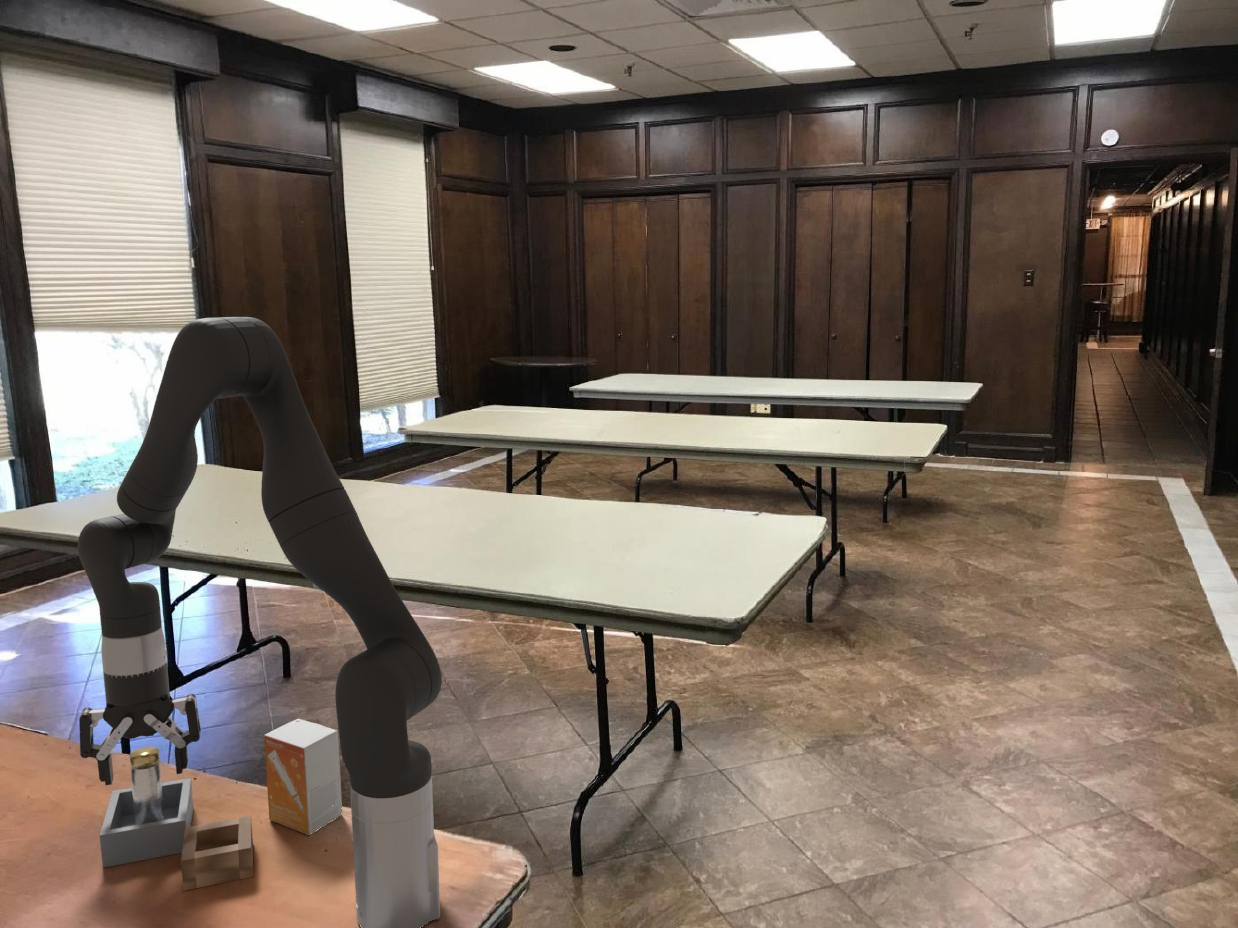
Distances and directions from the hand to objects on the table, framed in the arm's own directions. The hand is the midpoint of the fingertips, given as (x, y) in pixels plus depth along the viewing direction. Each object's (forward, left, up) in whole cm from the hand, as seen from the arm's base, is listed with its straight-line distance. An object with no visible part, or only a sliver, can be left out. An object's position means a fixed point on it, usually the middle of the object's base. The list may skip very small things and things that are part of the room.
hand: (145, 776), depth 127 cm
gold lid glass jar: (0, 0, -8) cm, 8 cm away
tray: (0, 0, -9) cm, 9 cm away
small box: (-20, +3, -9) cm, 22 cm away
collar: (-9, +11, -9) cm, 17 cm away
